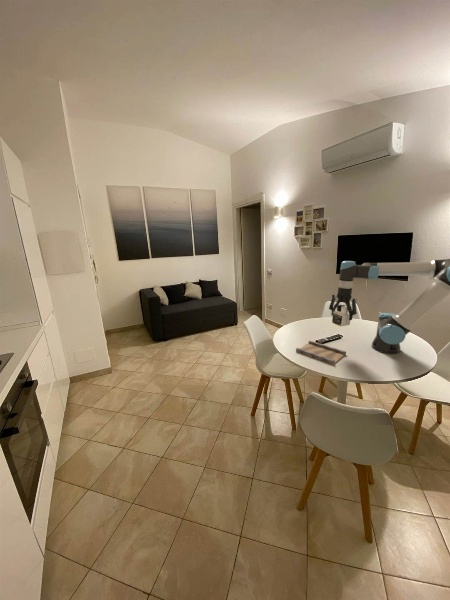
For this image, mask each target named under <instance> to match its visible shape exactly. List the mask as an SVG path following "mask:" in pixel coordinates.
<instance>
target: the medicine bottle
mask: <svg viewBox="0 0 450 600" xmlns="http://www.w3.org/2000/svg"><path fill="white" fill-rule="evenodd" d="M348 315H349V312H348V309H347V306H346V304H339V305H338V306H337V308H336V312H333V316H332V317H333V319H331V323H332V324H334V325H336V326H339V327H346V326H348V325H347V319H348Z"/></svg>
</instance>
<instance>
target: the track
mask: <svg viewBox="0 0 450 600" xmlns="http://www.w3.org/2000/svg"><path fill="white" fill-rule="evenodd" d="M295 351H296V352H297V353H298V354H299V353H300V354H303V355H305V356H308V357H311V358H314V359H316V360H319V361H322V362H324V363H327V364H329V365H333V366H334V365H335V364H337V362H339V361H340V360H341V359H343V358H344V357H345V356H346V355H347V351H345V350H342V349H339V348H335V347H331V346H328V345H325V344H323V343H320V342H316V341H313V340H308V342H307V344H305V345H302V347H300V348H299V347H296V348H295Z"/></svg>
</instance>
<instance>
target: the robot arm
mask: <svg viewBox="0 0 450 600" xmlns="http://www.w3.org/2000/svg"><path fill="white" fill-rule="evenodd" d="M356 263H357V262H356V261H353V260H344V261H342V262H341V264H340V268H339V276H338V277H339V279H338V288H337V294H336V293H335V294H332V295H331V300H330V304H329V307H328V310H330V311H331V316H332V319H333V312H337V306H338V305H341V304H340V303H343V304H344V305H346V306H347V309H348V313H349V315H348V319H347V326H350V325H351V321H353V316H355V315H357V313H358V312H357V298H356V297H352V291H353V285H354V279H362V280H377V279H378V277H379V276H398V277H399V276H403V277H405V276H408V277H409V276H416V277H417V276H421V277H423V276H424V277H426V276H427V277H428V276H429V277H430V278H431V279H432V278H433V279H434V281H433V282H432V283H431V284H430V285H429V286H428V287H427V288H426V289H424V290H423V291H422V292H421V293H420V294H419V295H417V297H415V299H413V300H412V301H411V302H410V303H409V304H408V305H406V307H404V308H403V309H402V310H401V311H400V312H399V313H398V314H397V313H392V312H380V313H379V315H378V317H377V318H378V320H377V321H378V322H377V327H376V335H375V336H374V338H373V341H372V343H371V348H372V349H374V350H375V351H377V352H380V353H383V354H390V355H391V354H392V355H394V354H395V355H397V354H398V353H400V352H401V345H400V344H401V343H403V342H404V341H405V339H406V336H407V335H408V334H409V333H410V332H411V331H413V325H414V324H416V323H417V322H418V321H419V320H420V319H421V318H422V317H424V316H425V315H427V314H428V313H429V312H430V311H431V310H433V308H435V307H436V306H437V305H438V304H439V303H441V302H442V301H443V300H444V299H446V297H448V296H449V295H450V258H445V259H432V260H431V261H415V262H414V261H412V262H411V261H409V262H407V261H406V262H363V263H362V264H356ZM350 301H351V302H350ZM335 302H336V303H335ZM332 319H331V320H332Z"/></svg>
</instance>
